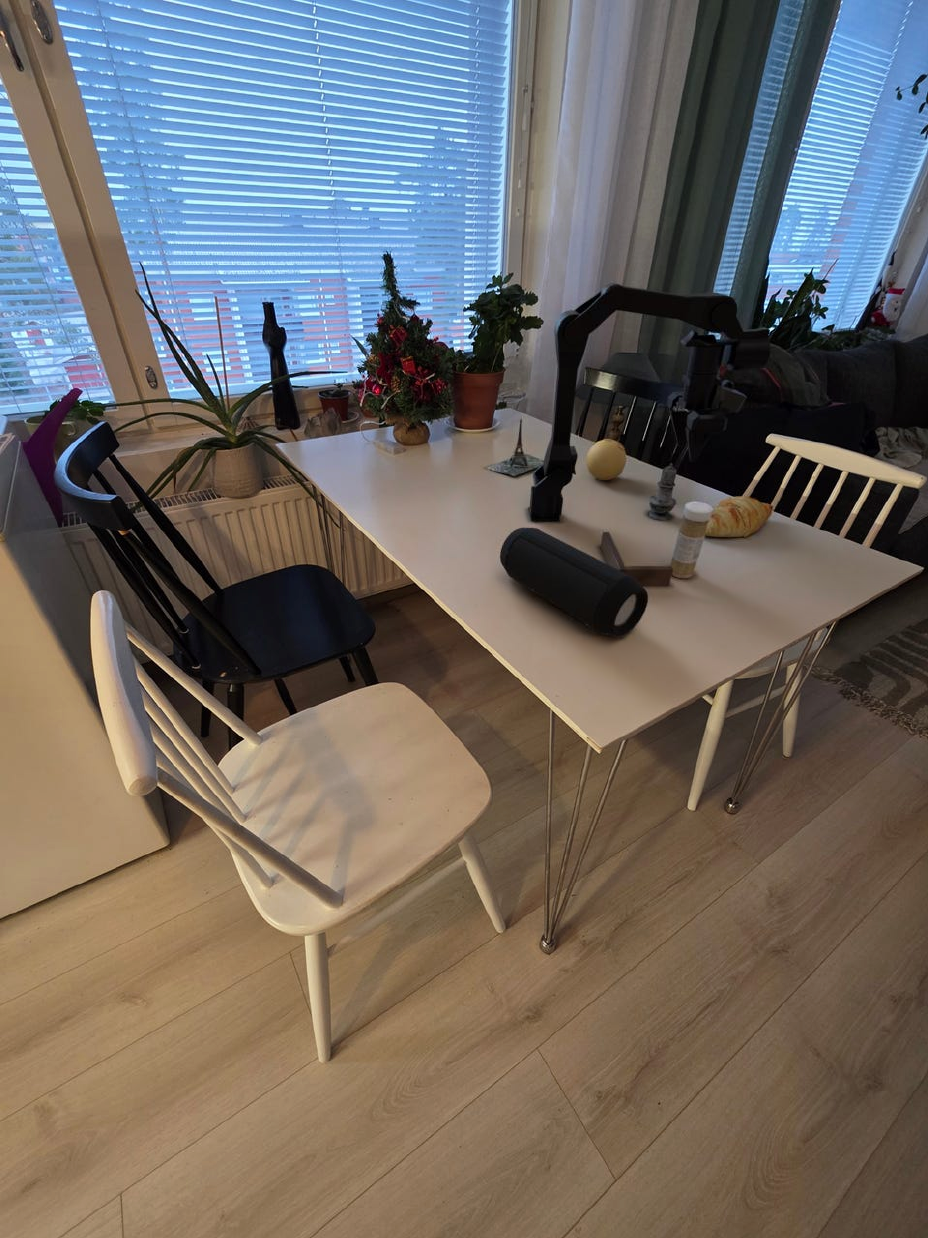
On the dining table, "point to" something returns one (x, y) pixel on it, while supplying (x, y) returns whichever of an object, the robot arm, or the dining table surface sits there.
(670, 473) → the grey stone chess piece
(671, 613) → the dining table surface
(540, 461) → the eiffel tower figurine
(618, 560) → the corner fence
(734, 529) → the croissant
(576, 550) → the portable speaker
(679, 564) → the sprinkles bottle
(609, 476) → the stress ball
